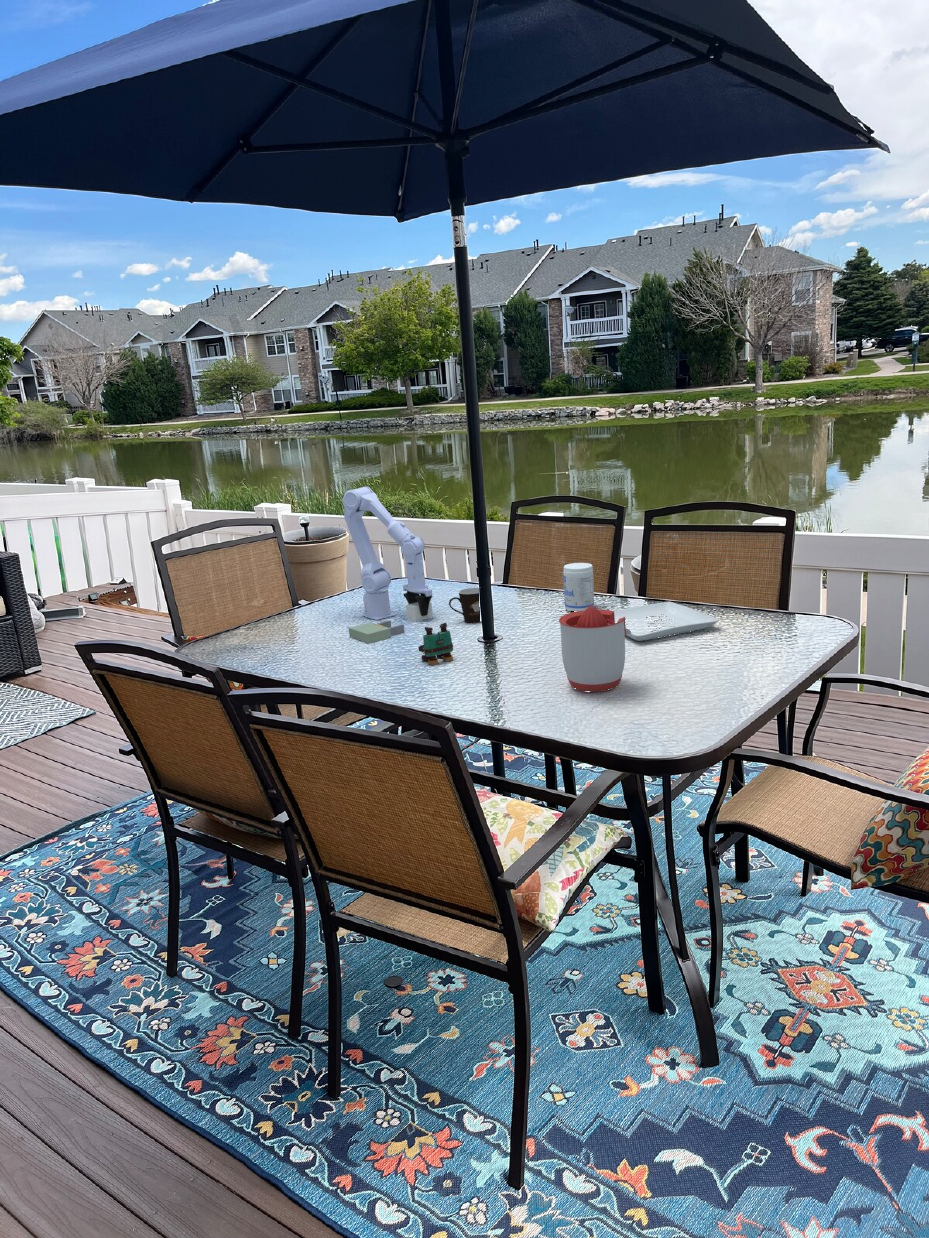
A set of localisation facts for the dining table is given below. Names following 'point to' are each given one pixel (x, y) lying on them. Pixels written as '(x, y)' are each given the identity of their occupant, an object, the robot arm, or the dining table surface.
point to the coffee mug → (469, 604)
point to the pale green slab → (375, 631)
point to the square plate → (683, 618)
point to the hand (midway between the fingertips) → (419, 614)
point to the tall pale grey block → (417, 612)
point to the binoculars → (437, 645)
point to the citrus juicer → (593, 648)
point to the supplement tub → (578, 586)
